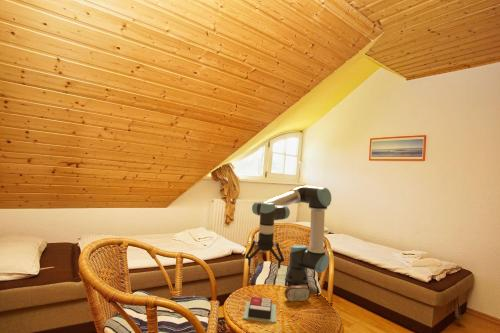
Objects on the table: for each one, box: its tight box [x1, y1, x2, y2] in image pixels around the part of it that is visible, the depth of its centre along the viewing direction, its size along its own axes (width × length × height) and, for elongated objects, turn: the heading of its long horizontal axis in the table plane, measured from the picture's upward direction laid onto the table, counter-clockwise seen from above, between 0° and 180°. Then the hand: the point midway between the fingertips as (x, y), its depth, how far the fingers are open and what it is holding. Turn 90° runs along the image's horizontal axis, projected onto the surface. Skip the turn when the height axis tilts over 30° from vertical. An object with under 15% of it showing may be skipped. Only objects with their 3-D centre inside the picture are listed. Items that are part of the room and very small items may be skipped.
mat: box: [242, 300, 277, 324], centre depth 146 cm, size 16×18×1 cm
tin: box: [284, 284, 311, 302], centre depth 162 cm, size 15×3×8 cm, turn 105°
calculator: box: [248, 296, 273, 319], centre depth 146 cm, size 11×4×15 cm
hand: (263, 273), depth 149 cm, fingers open, 13 cm apart
